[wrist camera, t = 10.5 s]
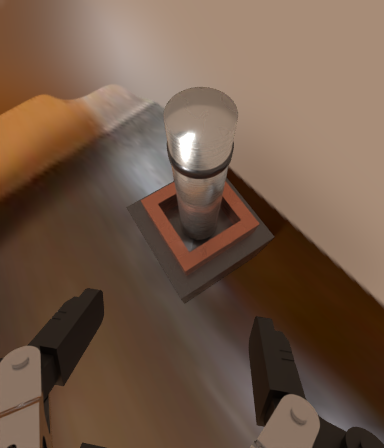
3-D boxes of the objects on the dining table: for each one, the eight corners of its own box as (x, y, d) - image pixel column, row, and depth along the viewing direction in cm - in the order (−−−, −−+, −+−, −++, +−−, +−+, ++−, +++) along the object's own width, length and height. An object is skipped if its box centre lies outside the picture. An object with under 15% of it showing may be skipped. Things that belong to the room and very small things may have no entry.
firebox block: (141, 232, 33) (119, 196, 23) (208, 193, 35) (214, 145, 25) (184, 303, 29) (179, 297, 20) (255, 256, 32) (283, 228, 22)
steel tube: (173, 218, 25) (147, 106, 12) (204, 200, 26) (210, 75, 13) (193, 247, 24) (188, 158, 11) (224, 227, 24) (256, 121, 11)
